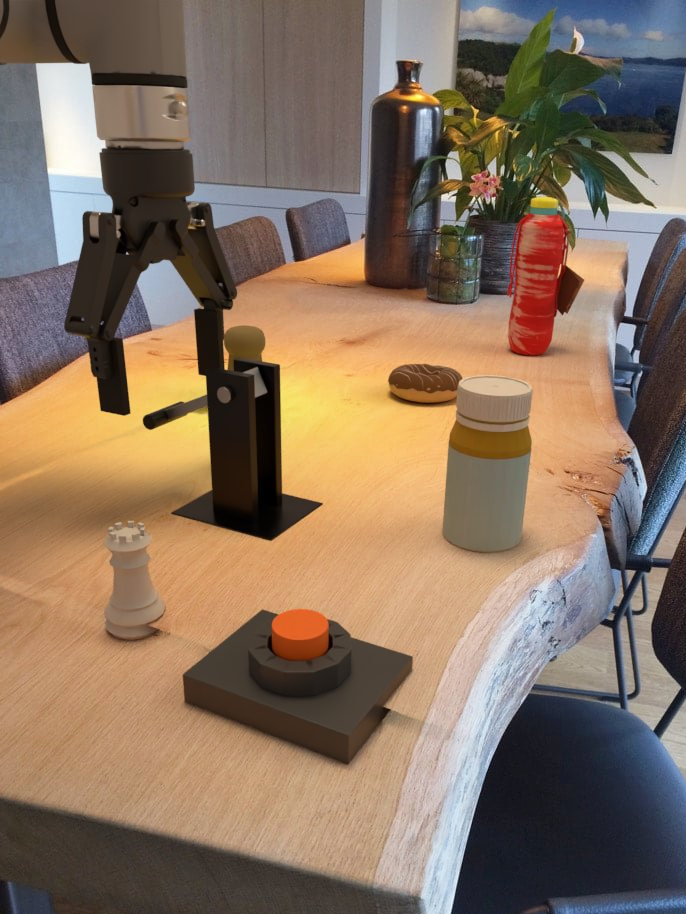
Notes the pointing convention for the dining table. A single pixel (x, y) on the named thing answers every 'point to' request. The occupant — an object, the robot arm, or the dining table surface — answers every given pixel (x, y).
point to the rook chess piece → (131, 584)
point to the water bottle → (540, 278)
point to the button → (300, 635)
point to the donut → (424, 382)
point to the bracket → (246, 456)
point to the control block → (299, 687)
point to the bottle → (488, 464)
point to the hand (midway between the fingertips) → (167, 393)
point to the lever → (193, 405)
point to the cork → (244, 343)
